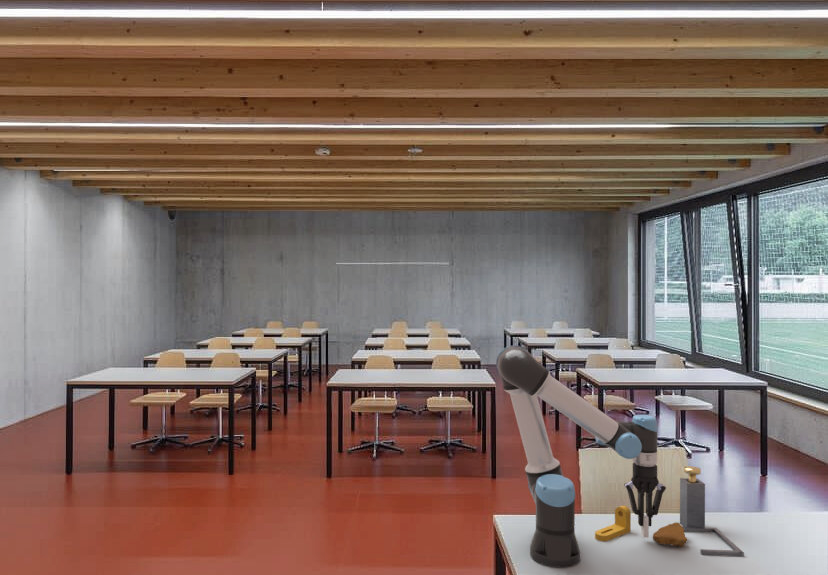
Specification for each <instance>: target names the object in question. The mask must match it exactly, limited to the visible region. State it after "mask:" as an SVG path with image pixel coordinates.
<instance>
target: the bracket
mask: <svg viewBox="0 0 828 575" xmlns="http://www.w3.org/2000/svg"><path fill="white" fill-rule="evenodd" d="M631 520H632V518H631V510H630V508H629V507H628V506H626V505H620V506H618V507H616V508H615V509H614V523H613V524H611V525H608V526H606V527H602V528H601V529H598V530H595V531H594V538H595V540H596V541H598V542H599V541H600V542H609V541H610V540H613V539H616V538H618V537H621V536H623V535H625V534H628V533H631V531H632V530H631V529H632V528H631V526H632V525H631V524H632V523H631Z"/></svg>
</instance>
